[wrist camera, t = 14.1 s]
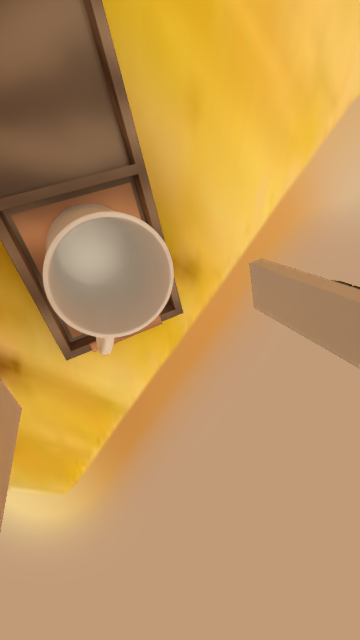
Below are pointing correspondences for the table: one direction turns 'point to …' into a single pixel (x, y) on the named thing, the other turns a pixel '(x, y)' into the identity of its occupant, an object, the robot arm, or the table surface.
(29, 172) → the rack
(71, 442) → the table surface
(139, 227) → the mug
